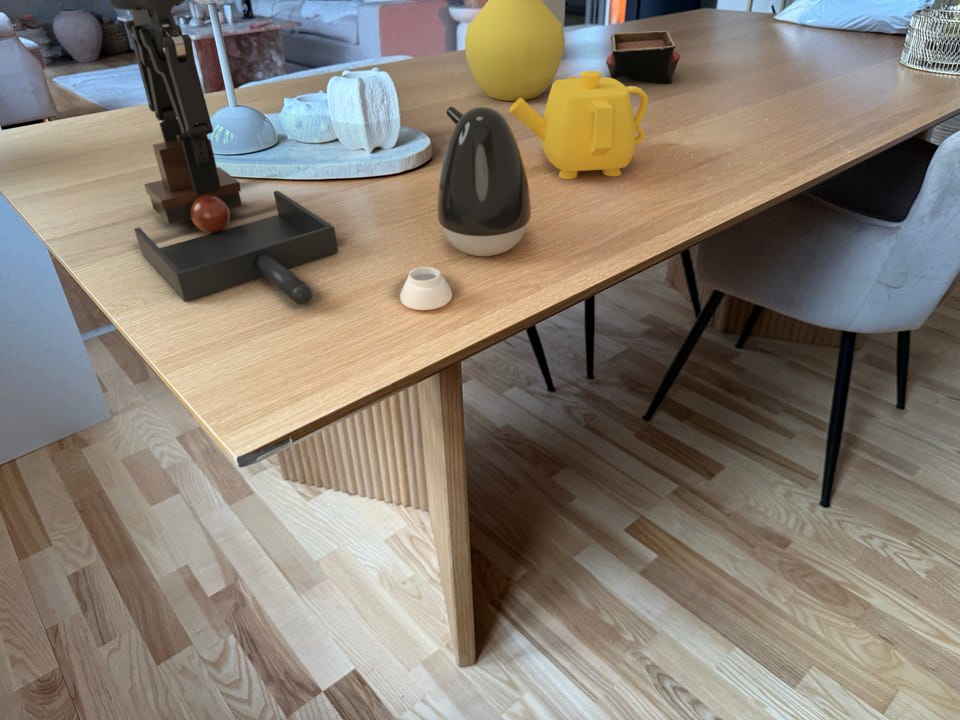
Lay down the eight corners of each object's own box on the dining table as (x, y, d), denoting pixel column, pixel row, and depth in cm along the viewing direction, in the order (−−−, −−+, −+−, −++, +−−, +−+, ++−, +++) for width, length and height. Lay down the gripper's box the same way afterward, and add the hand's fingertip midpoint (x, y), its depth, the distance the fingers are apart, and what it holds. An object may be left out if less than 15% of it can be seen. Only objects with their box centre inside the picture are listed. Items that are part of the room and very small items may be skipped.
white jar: (404, 316, 66) (456, 309, 67) (401, 289, 65) (454, 282, 65) (398, 292, 70) (447, 285, 71) (395, 265, 69) (445, 259, 69)
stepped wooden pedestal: (151, 208, 87) (131, 143, 82) (224, 190, 91) (210, 127, 86) (168, 226, 82) (149, 158, 78) (244, 206, 87) (230, 141, 82)
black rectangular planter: (600, 95, 139) (607, 43, 132) (607, 61, 152) (614, 12, 145) (673, 102, 137) (684, 50, 130) (674, 67, 150) (684, 18, 143)
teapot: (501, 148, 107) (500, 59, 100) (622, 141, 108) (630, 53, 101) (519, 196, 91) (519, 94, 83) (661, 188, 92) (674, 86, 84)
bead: (187, 223, 85) (182, 192, 81) (223, 215, 87) (219, 184, 84) (201, 244, 82) (196, 212, 79) (237, 235, 84) (234, 204, 81)
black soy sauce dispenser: (487, 220, 85) (484, 89, 76) (549, 246, 78) (553, 106, 69) (420, 245, 79) (409, 107, 71) (480, 276, 73) (476, 128, 64)
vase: (509, 113, 123) (508, -88, 106) (447, 94, 135) (437, -89, 118) (582, 94, 132) (592, -93, 115) (518, 78, 144) (519, -93, 127)
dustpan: (142, 254, 79) (133, 228, 77) (282, 214, 88) (277, 190, 86) (222, 345, 63) (214, 314, 61) (385, 285, 72) (382, 257, 70)
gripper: (211, -34, 66) (260, 199, 79) (146, -49, 78) (198, 154, 91) (128, -26, 62) (194, 217, 75) (74, -43, 74) (139, 168, 88)
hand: (196, 182), depth 83 cm, fingers open, 6 cm apart
